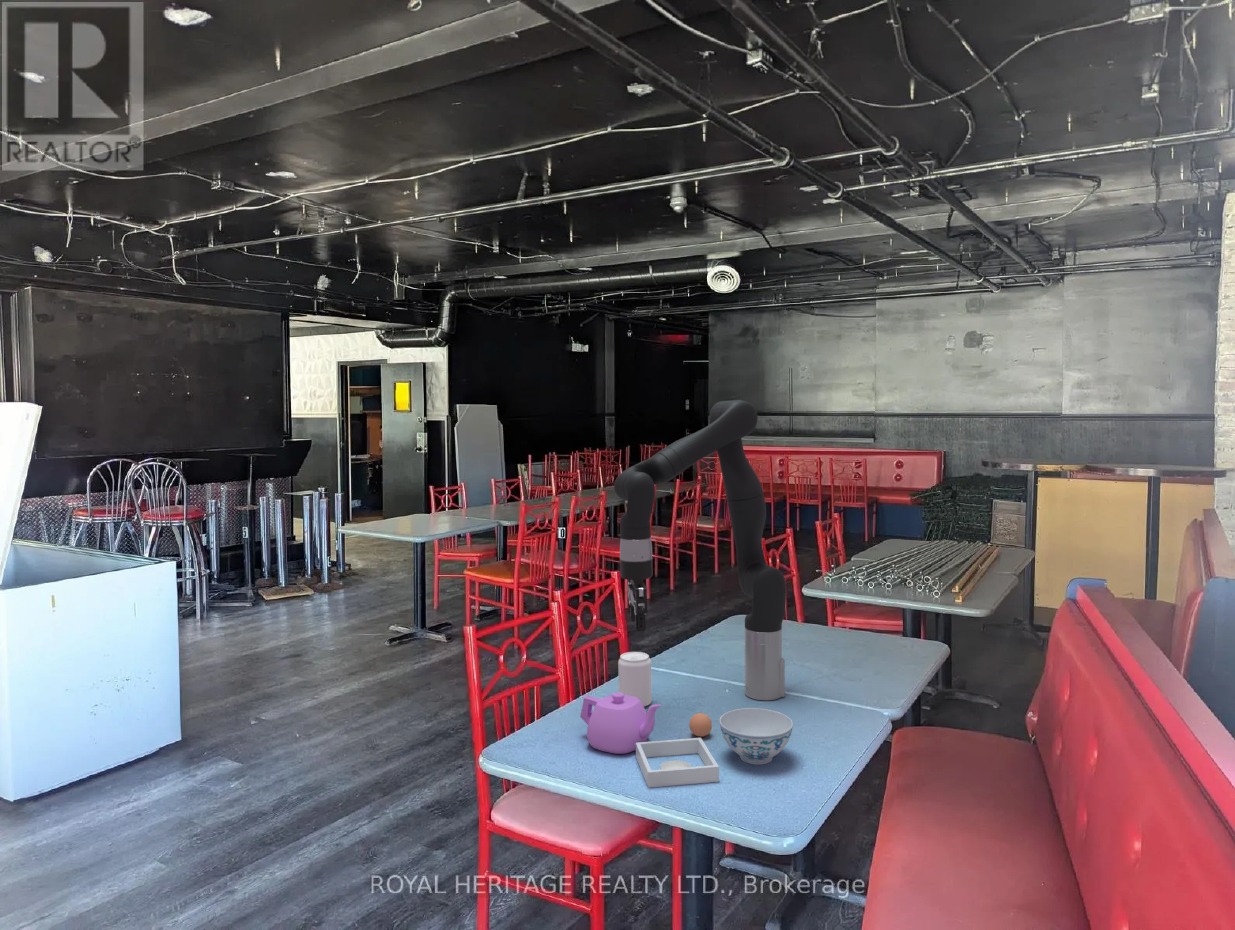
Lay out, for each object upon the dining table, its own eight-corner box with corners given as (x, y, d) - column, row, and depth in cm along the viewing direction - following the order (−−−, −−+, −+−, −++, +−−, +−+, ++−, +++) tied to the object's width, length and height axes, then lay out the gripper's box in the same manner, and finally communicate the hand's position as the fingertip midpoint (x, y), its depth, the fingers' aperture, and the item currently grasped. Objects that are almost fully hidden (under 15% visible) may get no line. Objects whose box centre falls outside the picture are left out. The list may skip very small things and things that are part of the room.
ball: (708, 730, 180) (708, 708, 179) (714, 739, 175) (714, 717, 174) (687, 732, 179) (686, 710, 179) (692, 741, 174) (692, 718, 174)
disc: (687, 760, 164) (687, 759, 164) (695, 774, 158) (695, 772, 158) (657, 762, 163) (657, 761, 163) (663, 776, 157) (663, 775, 157)
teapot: (647, 765, 163) (646, 712, 162) (566, 746, 173) (565, 696, 172) (676, 741, 174) (675, 692, 173) (598, 724, 184) (597, 677, 183)
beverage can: (652, 698, 201) (651, 651, 200) (650, 710, 193) (650, 661, 192) (620, 697, 201) (619, 650, 201) (617, 709, 193) (616, 660, 193)
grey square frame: (701, 751, 169) (700, 737, 169) (718, 781, 155) (718, 766, 155) (635, 756, 167) (635, 742, 166) (648, 787, 153) (648, 772, 153)
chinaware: (777, 780, 155) (777, 741, 155) (707, 763, 163) (707, 726, 163) (803, 751, 168) (803, 716, 167) (737, 737, 176) (736, 703, 175)
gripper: (657, 562, 178) (659, 633, 179) (647, 550, 192) (648, 616, 193) (624, 563, 177) (625, 635, 178) (616, 552, 191) (618, 618, 192)
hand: (637, 625), depth 186 cm, fingers open, 8 cm apart
